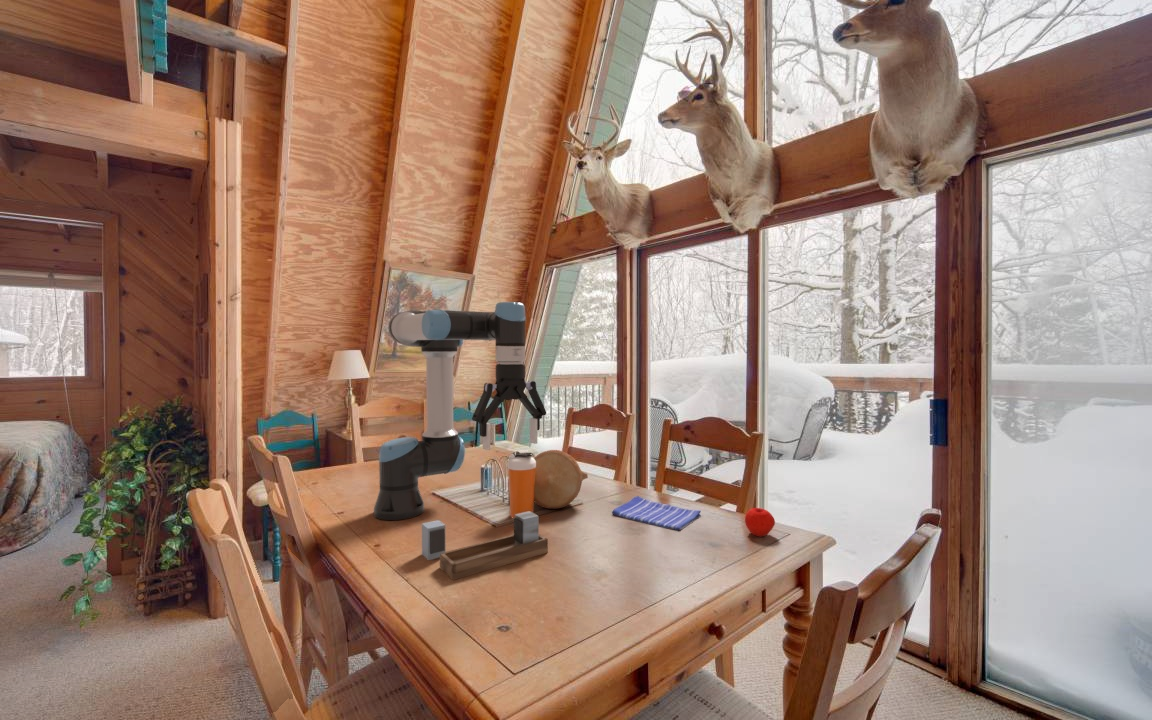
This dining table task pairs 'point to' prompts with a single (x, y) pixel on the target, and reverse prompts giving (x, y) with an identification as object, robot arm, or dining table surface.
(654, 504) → the dish towel
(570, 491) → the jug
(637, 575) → the dining table surface
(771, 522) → the apple
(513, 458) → the shaker bottle
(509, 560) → the rail
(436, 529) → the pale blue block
